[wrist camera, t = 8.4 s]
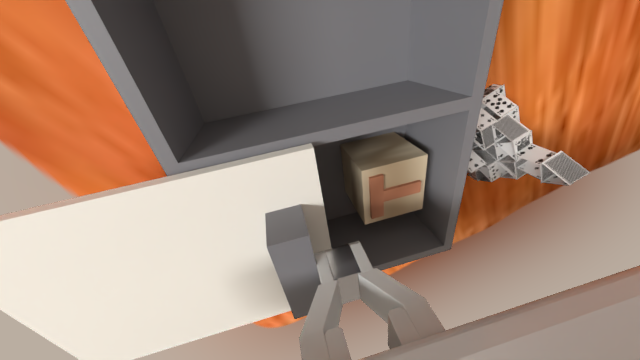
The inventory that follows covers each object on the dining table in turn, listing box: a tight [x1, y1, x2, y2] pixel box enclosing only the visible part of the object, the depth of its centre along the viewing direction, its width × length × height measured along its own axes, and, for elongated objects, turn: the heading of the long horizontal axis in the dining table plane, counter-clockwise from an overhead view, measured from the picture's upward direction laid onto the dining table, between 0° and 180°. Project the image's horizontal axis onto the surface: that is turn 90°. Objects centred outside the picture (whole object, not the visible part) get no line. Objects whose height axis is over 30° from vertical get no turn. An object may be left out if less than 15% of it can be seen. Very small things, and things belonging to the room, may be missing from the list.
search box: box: [65, 0, 504, 270], centre depth 13 cm, size 14×20×6 cm
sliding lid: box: [0, 143, 332, 360], centre depth 10 cm, size 14×10×2 cm
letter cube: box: [340, 132, 428, 225], centre depth 16 cm, size 4×4×4 cm
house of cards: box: [467, 84, 590, 186], centre depth 16 cm, size 9×9×8 cm
